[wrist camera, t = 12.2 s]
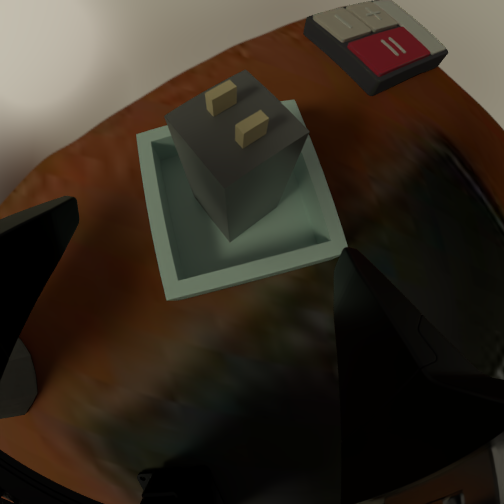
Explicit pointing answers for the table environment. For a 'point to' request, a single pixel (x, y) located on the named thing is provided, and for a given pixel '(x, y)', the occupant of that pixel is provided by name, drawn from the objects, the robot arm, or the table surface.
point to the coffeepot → (17, 383)
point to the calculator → (375, 43)
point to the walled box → (246, 244)
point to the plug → (237, 150)
